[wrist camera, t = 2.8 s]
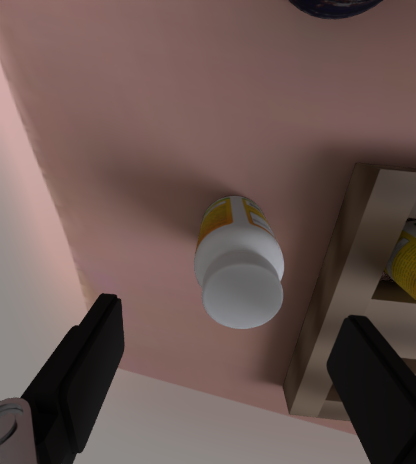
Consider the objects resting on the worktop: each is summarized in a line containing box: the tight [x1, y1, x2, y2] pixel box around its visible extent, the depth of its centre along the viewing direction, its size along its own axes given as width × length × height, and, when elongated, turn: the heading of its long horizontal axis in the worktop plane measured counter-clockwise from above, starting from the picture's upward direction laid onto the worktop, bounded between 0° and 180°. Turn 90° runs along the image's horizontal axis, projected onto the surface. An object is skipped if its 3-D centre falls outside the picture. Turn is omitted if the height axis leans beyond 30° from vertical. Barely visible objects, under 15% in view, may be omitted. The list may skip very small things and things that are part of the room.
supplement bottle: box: [194, 196, 284, 329], centre depth 16 cm, size 5×5×10 cm
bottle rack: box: [283, 163, 416, 421], centre depth 22 cm, size 26×13×3 cm, turn 175°
